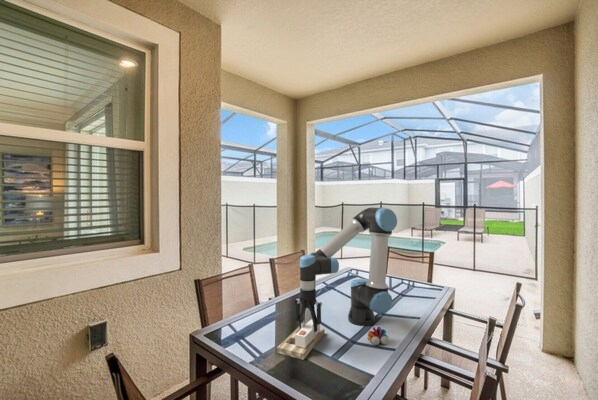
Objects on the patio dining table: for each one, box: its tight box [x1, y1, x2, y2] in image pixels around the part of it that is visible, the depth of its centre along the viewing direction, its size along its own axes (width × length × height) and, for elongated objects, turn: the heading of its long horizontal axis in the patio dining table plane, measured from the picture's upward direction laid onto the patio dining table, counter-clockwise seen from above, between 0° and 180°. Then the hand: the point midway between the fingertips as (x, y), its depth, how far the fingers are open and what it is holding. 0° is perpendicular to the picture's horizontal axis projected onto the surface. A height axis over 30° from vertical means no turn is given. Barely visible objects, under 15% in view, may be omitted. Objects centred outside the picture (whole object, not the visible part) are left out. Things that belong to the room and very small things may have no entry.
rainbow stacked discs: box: [367, 326, 389, 346], centre depth 135 cm, size 8×10×7 cm
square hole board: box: [276, 326, 326, 360], centre depth 135 cm, size 13×26×2 cm, turn 154°
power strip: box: [295, 318, 321, 348], centre depth 133 cm, size 5×18×8 cm, turn 154°
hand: (308, 336), depth 134 cm, fingers closed on power strip, 5 cm apart
